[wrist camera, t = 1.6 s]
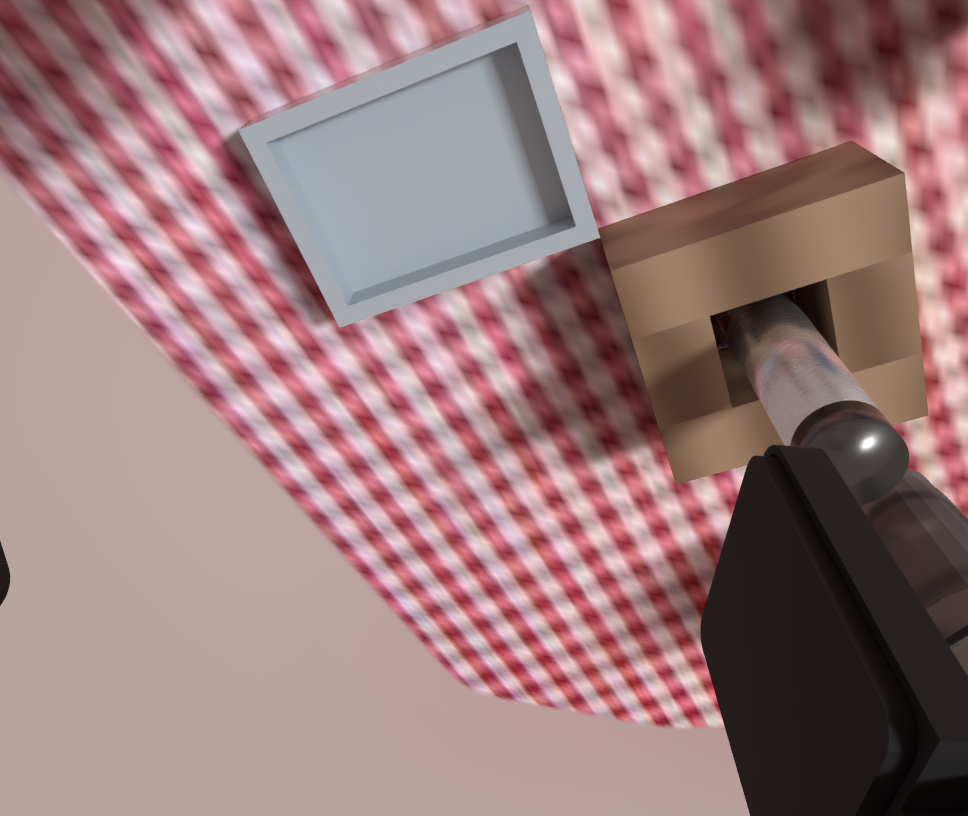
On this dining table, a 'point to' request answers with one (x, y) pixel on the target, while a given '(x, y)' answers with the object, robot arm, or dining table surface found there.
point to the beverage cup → (928, 552)
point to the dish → (426, 170)
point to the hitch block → (769, 295)
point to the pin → (814, 394)
